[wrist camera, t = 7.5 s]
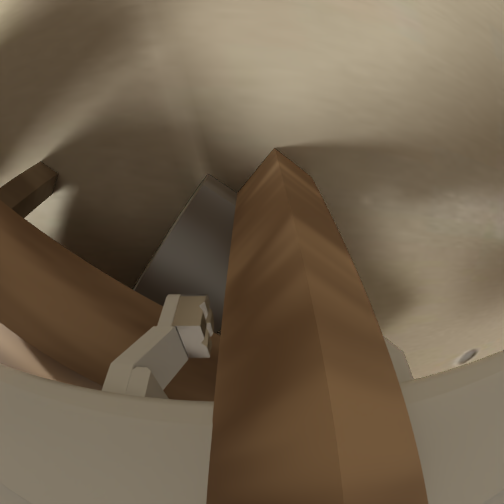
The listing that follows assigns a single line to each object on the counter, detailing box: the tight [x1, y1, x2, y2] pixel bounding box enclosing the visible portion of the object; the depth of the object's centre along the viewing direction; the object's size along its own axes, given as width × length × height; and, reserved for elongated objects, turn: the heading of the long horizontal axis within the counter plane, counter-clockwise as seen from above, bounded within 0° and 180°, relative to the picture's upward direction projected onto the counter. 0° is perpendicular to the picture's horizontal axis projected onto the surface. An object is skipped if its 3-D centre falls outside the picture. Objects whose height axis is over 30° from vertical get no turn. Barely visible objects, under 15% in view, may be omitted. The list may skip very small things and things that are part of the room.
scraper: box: [133, 148, 428, 504], centre depth 12 cm, size 18×6×14 cm, turn 143°
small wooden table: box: [0, 162, 220, 401], centre depth 15 cm, size 10×20×10 cm, turn 53°
